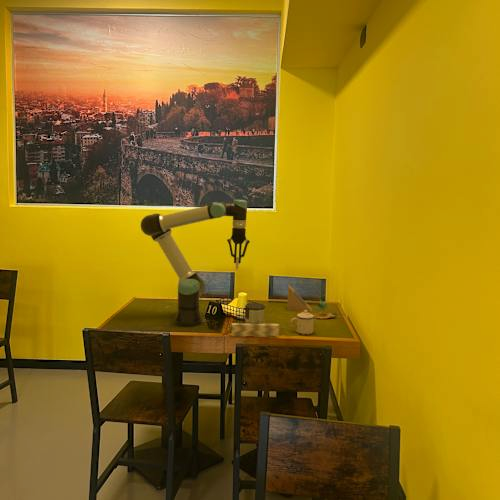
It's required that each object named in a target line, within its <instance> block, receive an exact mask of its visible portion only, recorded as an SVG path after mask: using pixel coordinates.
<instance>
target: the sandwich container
mask: <svg viewBox="0 0 500 500" xmlns="http://www.w3.org/2000/svg"><path fill="white" fill-rule="evenodd" d="M304 310H307V311H308V312H313V308H312V307H311V306H310V305H309V303H307V302H306V301H305V300H304V299H303V297H301V295H299V293H298V292H296V290H295V289H294V288H293V287H292V286H291V285H290V284H288V285H287V311H291V312H292V311H294V312H296V311H297V312H304Z"/></svg>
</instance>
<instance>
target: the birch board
mask: <svg viewBox="0 0 500 500" xmlns="http://www.w3.org/2000/svg"><path fill="white" fill-rule="evenodd" d="M245 336H253V338H254V337H255V338H257V337H258V338H259V337H261V338H269V337H268V336H279V337H280V324H279V323H264V324H256V323H245V322H244V323H243V322H241V323H240V322H239V323H238V322H232V323H231V337H245Z"/></svg>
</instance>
